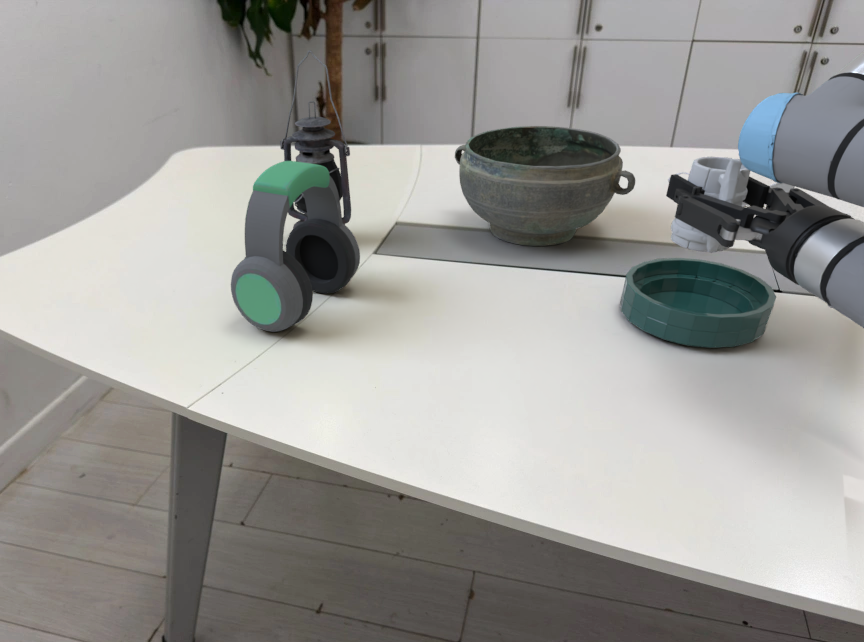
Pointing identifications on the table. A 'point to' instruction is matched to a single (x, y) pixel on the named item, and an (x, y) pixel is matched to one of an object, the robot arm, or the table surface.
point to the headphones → (292, 247)
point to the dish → (697, 302)
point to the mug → (719, 182)
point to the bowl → (540, 180)
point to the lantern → (318, 153)
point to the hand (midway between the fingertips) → (701, 183)
